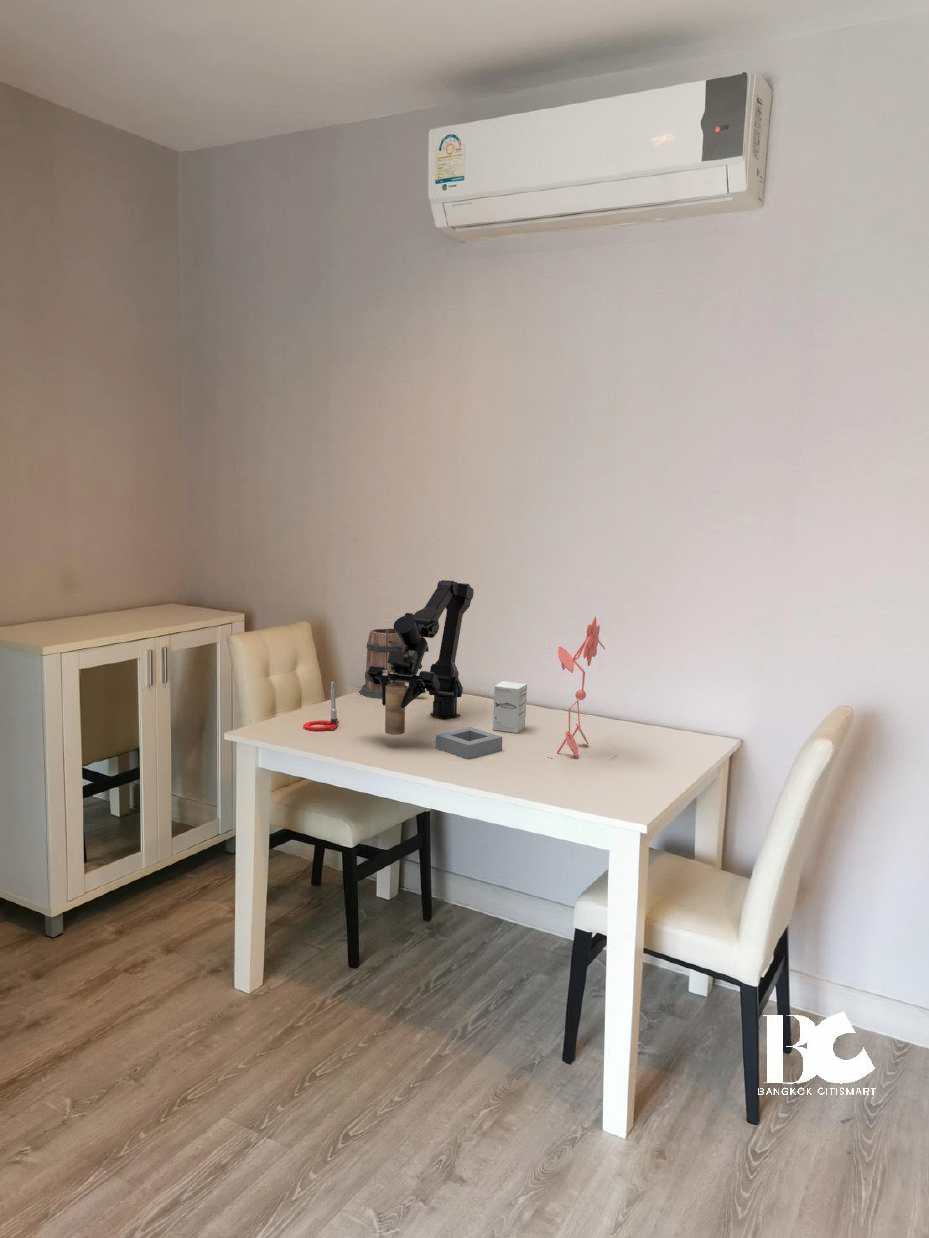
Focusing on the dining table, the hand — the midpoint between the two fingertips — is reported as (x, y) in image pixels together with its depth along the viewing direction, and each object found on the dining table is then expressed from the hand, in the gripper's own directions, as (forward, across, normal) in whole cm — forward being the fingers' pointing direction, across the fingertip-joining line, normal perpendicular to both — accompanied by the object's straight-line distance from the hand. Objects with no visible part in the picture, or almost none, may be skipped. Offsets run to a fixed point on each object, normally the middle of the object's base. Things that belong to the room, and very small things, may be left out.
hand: (392, 706), depth 237 cm
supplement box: (-14, +21, +29) cm, 38 cm away
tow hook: (+2, -26, +13) cm, 29 cm away
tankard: (-29, -25, +44) cm, 59 cm away
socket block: (+2, +18, +13) cm, 22 cm away
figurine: (-5, +46, +21) cm, 51 cm away
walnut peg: (+4, 0, +6) cm, 7 cm away
